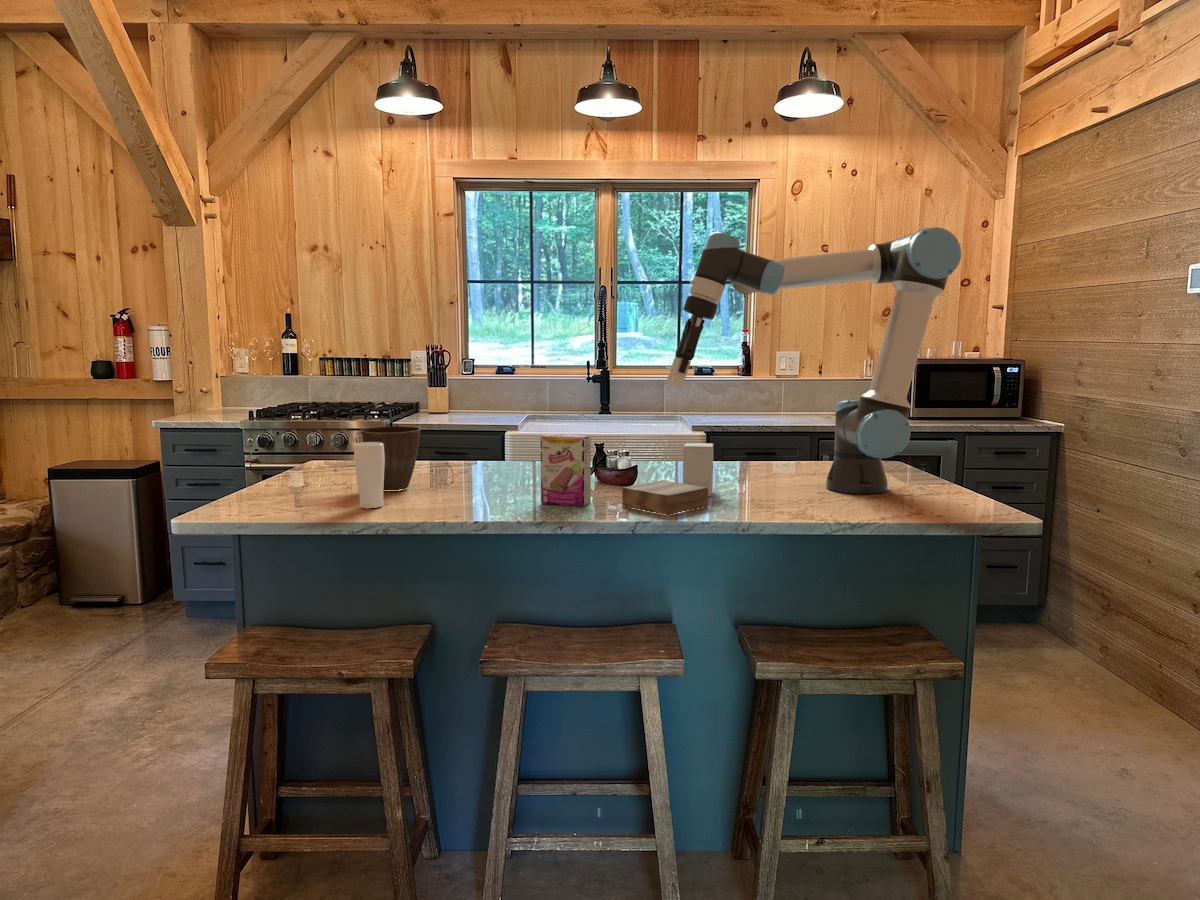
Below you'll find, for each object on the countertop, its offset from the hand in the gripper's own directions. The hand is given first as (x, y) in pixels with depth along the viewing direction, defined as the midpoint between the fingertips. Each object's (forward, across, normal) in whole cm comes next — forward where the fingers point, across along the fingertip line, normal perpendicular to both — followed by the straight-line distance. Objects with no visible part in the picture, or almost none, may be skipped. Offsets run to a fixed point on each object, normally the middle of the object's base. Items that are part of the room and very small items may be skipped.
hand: (673, 385), depth 187 cm
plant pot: (+50, -14, -59) cm, 79 cm away
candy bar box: (+35, +5, -15) cm, 38 cm away
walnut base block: (+28, +8, +7) cm, 30 cm away
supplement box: (+24, -8, +16) cm, 30 cm away
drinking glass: (+49, +8, -58) cm, 77 cm away
